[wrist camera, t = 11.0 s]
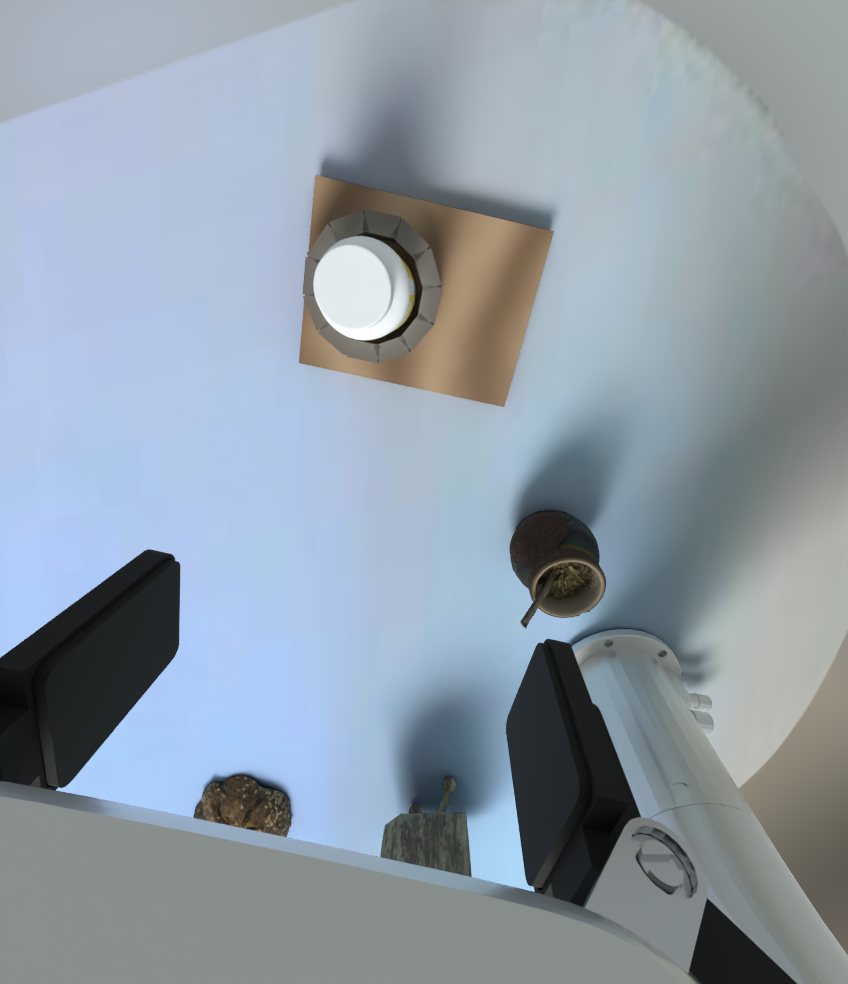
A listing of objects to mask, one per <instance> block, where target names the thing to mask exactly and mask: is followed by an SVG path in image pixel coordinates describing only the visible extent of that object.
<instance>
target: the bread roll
mask: <svg viewBox="0 0 848 984" xmlns="http://www.w3.org/2000/svg"><path fill="white" fill-rule="evenodd" d="M289 810H290V806H289V799H288V798H287V797H286V795H285V794H284V793H283V792H281V791H278V790H273V789H269V788H263V787H262V786H260V785H258V784H257V783H256V782H255V780H254V779H253V778H251V777H249V776H246V775H237V776H232V777H229V778H227V779H226V780H225V782H214V783H211V784H210V785H208V787H207V789H205V790H204V792H203V794H202V801H201V803H200V804H199V805H198V806H197V807H196V809H195V814H194V817H193V818H196V819H200V820H205V821H210V822H215V823H220V824H225V825H229V826H234V827H239V828H244V829H249V830H253V831H258V832H263V833H268V834H273V835H277V836H282V837H287V834H288V831H289V827H291V821H290V820H291V813H290V812H289Z"/></svg>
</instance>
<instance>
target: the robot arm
mask: <svg viewBox="0 0 848 984" xmlns="http://www.w3.org/2000/svg"><path fill="white" fill-rule="evenodd" d="M179 609H180V564H179V562H177V561H175V558H174V556H173V555H172V554H168V553H164V552H159V551H155V550H146V551H144V552H143V553H141V554H140V555H138V556H137V557H136V558H134V559H133V560H132V561H130V562H129V563H128V564H126V565H125V566H124V567H122V568H121V569H120V570H118V571H117V572H116V573H114V574H113V575H112V576H110V577H109V578H107V579H106V580H105V581H103V582H102V583H101V584H99V585H98V586H97V587H95V588H94V589H93V590H91V591H90V592H89V593H87V594H86V595H85V596H83V597H82V598H80V599H79V600H78V601H76V602H75V603H74V604H72V605H71V606H70V607H68V608H67V609H66V610H64V611H63V612H62V613H60V614H59V615H58V616H56V617H55V618H54V619H52V620H51V621H49V622H48V623H47V624H45V625H44V626H43V627H41V628H40V629H39V630H37V631H36V632H35V633H33V634H32V635H31V636H29V637H28V638H27V639H25V640H24V641H23V642H21V643H20V644H18V645H17V646H16V647H14V648H13V649H12V650H10V651H9V652H8V653H6V654H5V655H4V656H2V657H1V658H0V984H848V955H847V954H846V953H845V951H844V950H843V948H842V947H841V946H840V944H839V943H838V941H837V940H836V939H835V938H834V936H833V935H832V933H831V932H830V930H829V929H828V928H827V926H826V925H825V923H824V922H823V921H822V919H821V918H820V916H819V915H818V913H817V912H816V910H815V909H814V907H813V905H812V904H811V903H810V901H809V900H808V898H807V896H806V895H805V893H804V892H803V891H802V889H801V887H800V886H799V884H798V883H797V881H796V880H795V878H794V877H793V875H792V874H791V872H790V870H789V869H788V867H787V866H786V864H785V863H784V861H783V860H782V858H781V857H780V855H779V853H778V852H777V850H776V848H775V847H774V845H773V844H772V842H771V841H770V839H769V837H768V836H767V834H766V832H765V831H764V829H763V828H762V826H761V824H760V823H759V822H758V820H757V818H756V817H755V815H754V814H753V812H752V810H751V809H750V807H749V805H748V804H747V802H746V801H745V799H744V797H743V796H742V794H741V792H740V791H739V789H738V788H737V786H736V784H735V783H734V781H733V779H732V778H731V776H730V775H729V773H728V771H727V770H726V768H725V767H724V765H723V763H722V762H721V760H720V758H719V757H718V755H717V754H716V752H715V750H714V749H713V747H712V745H711V744H710V742H709V741H708V739H707V737H706V736H705V734H704V733H711V732H712V731H713V727H714V724H713V719H712V717H711V715H710V714H709V713H706V712H701V711H696V710H690V707H694V708H697V709H702V710H708V711H709V710H710V709H711V707H712V701H711V699H710V698H709V697H708V696H706V695H700V694H694V693H693V694H691V693H688V691H687V690H686V689H685V688H684V686H683V685H682V683H681V682H680V680H681V669H680V664H679V662H678V660H677V658H676V656H675V655H674V653H673V652H672V650H671V649H670V647H669V646H668V645H666V644H665V643H664V642H663V641H662V640H660V639H659V638H657V637H656V636H654V635H651V634H649V633H646V632H643V631H638V630H633V629H616V630H607V631H603V632H600V633H596V634H593V635H591V636H588V637H586V638H584V639H582V640H581V641H579V642H577V643H576V644H574V645H573V646H572V647H571V645H570V644H569V643H565V642H560V641H556V640H551V639H546V640H545V642H544V644H543V643H538V644H537V646H536V648H535V650H534V653H533V655H532V658H531V660H530V663H529V665H528V668H527V670H526V673H525V675H524V678H523V680H522V683H521V685H520V688H519V690H518V693H517V695H516V697H515V700H514V702H513V705H512V707H511V710H510V712H509V715H508V718H507V723H506V734H507V741H508V749H509V756H510V764H511V771H512V779H513V786H514V794H515V801H516V809H517V817H518V824H519V832H520V839H521V847H522V854H523V862H524V869H525V876H526V880H527V883H528V885H529V886H533V887H534V890H535V892H532V891H528V890H524V889H519V888H515V887H511V886H507V885H502V884H498V883H494V882H490V881H485V880H481V879H477V878H473V877H469V876H464V875H460V874H455V873H451V872H446V871H442V870H437V869H432V868H428V867H423V866H418V865H414V864H409V863H404V862H400V861H395V860H390V859H386V858H381V857H377V856H372V855H367V854H363V853H358V852H353V851H349V850H344V849H339V848H335V847H330V846H325V845H320V844H315V843H311V842H306V841H301V840H296V839H292V838H287V837H282V836H277V835H273V834H268V833H263V832H258V831H253V830H249V829H244V828H239V827H234V826H229V825H225V824H220V823H215V822H210V821H205V820H200V819H196V818H191V817H186V816H181V815H176V814H171V813H166V812H161V811H156V810H151V809H146V808H141V807H136V806H131V805H127V804H122V803H117V802H112V801H107V800H102V799H97V798H92V797H87V796H82V795H76V794H71V793H65V792H60V791H55V790H56V789H57V788H58V787H60V788H63V787H65V786H66V785H68V784H69V783H70V782H71V781H72V780H73V779H74V777H75V776H76V775H77V774H78V773H79V771H80V770H81V769H82V768H83V767H84V765H85V764H86V763H87V762H88V761H89V759H90V758H91V757H92V756H93V755H94V753H95V752H96V751H97V750H98V749H99V747H100V746H101V745H102V744H103V743H104V741H105V740H106V739H107V738H108V737H109V735H110V734H111V733H112V732H113V730H114V729H115V728H116V727H117V726H118V724H119V723H120V722H121V721H122V720H123V718H124V717H125V716H126V715H127V714H128V712H129V711H130V710H131V709H132V708H133V706H134V705H135V704H136V703H137V702H138V700H139V699H140V698H141V697H142V696H143V694H144V693H145V692H146V691H147V690H148V688H149V687H150V686H151V685H152V684H153V682H154V681H155V680H156V679H157V678H158V676H159V675H160V674H161V673H162V671H163V670H164V669H165V668H166V667H167V665H168V664H169V663H170V662H171V661H172V659H173V658H174V656H175V655H176V652H177V650H178V646H179Z"/></svg>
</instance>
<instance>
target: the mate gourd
mask: <svg viewBox="0 0 848 984" xmlns="http://www.w3.org/2000/svg"><path fill="white" fill-rule="evenodd" d="M510 554H511V564H512V567H513V570H514V572H515V573H516V575H517V577H518V578H519V579H520V581H521V582H522V583H523V584H524V585H525V586H526V587H527V588H529V591H530V595H531V598H532V601H533V603H532V605H531V607H530V608H529V610H528V611H527V612H526V614H525V616H524V617H523V619H522V620H521V624H522V625H523V626H524V627H525V628H526V627H527V625H528V623H529V621H530V620H531V618H532V616H534V613H535V612H536V610H537V608H539V609H540V610H541V611H543V612H544V613H546V614H548V615H551V616H554V617H561V618H567V617H574V616H579V615H580V614H582V613H584V612H588V611H589V610H591V609H592V608H594V607H595V606H596V605H597V604H598V602H599V601H600V600H601V598H602V597H603V595H604V592H605V588H606V579H605V576H604V573H603V571H602V569H601V568H600V566H599V549H598V545H597V541H596V539H595V538H594V535H593V534H592V532H591V531H590V529H588V527H587V526H586V525H585V524H583V523H582V522H581V521H580V520H578V519H577V518H575V517H573V516H571V515H570V514H567V513H565V512H561V511H555V510H548V511H539V512H536V513H534V514H531V515H530V516H528V517H526V518H525V519H523V520H522V521H521V523H520V524H519V525H518V526H517V527H516V531H515V533H514V534H513V536H512V539H511V543H510ZM589 612H590V611H589Z"/></svg>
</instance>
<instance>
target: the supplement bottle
mask: <svg viewBox="0 0 848 984" xmlns="http://www.w3.org/2000/svg"><path fill="white" fill-rule="evenodd" d="M313 287H314V295H315V299H316V302H317V304H318V306H319V308H320V310H321V312H322V314H323V316H324V317H325V319H326V320H327V321H328V323H329V324H330V325H331V326H332V327H333V328H334V329H335V330H337V331H338V332H339V333H341V334H343V335H345V336H347V337H349V338H352V339H356V340H373V339H378V338H381V337H383V336H385V335H387V334H389V333H391V332H392V331H394V330H396V329H398V328H399V327H400V326H402V325H403V324H404V323H405V322H406V321H407V319H408V318H409V316H410V315H411V313H412V311H413V308H414V305H415V300H416V286H415V281H414V278H413V275H412V273H411V271H410V269H409V267H408V266H407V264H406V263H405V262H404V261H403V260H402V259H401V258H400V257H399V255H398V254H397V253H396V252H395V251H394V250H393V249H392V248H390V247H389V246H388V245H386V244H385V243H383V242H381V241H379V240H377V239H374V238H371V237H366V236H355V237H350V238H346V239H343V240H341V241H339V242H337V243H336V244H334V245H333V246H332V247H330V248H329V249H328V251H327V252H326V253H325V254H324V256H323V257H322V259H321V260H320V262H319V263H318V265H317V268H316V270H315V274H314V281H313Z"/></svg>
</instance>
